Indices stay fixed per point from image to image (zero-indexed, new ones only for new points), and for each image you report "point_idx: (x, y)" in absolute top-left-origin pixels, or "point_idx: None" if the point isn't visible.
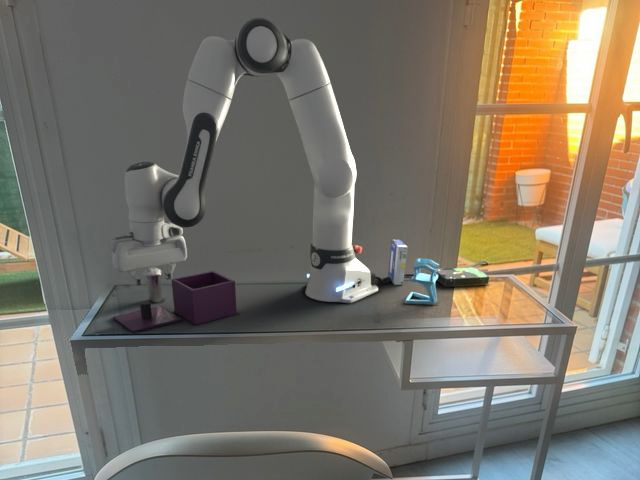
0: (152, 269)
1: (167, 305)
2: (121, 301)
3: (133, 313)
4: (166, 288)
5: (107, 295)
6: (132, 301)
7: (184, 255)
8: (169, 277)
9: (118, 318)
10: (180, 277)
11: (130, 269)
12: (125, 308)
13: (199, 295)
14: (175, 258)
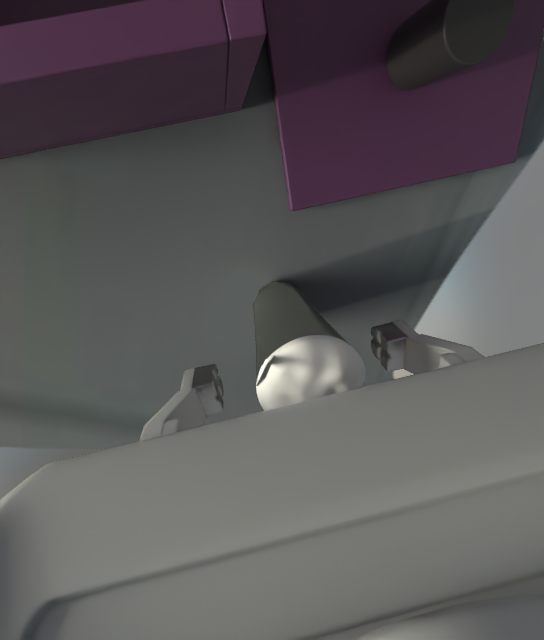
0: (323, 386)
1: (249, 229)
2: None
3: (433, 160)
4: None
5: None
6: (358, 324)
7: (13, 507)
8: (203, 370)
9: (514, 123)
10: (139, 43)
11: (514, 353)
12: (411, 263)
13: None
14: (119, 470)
